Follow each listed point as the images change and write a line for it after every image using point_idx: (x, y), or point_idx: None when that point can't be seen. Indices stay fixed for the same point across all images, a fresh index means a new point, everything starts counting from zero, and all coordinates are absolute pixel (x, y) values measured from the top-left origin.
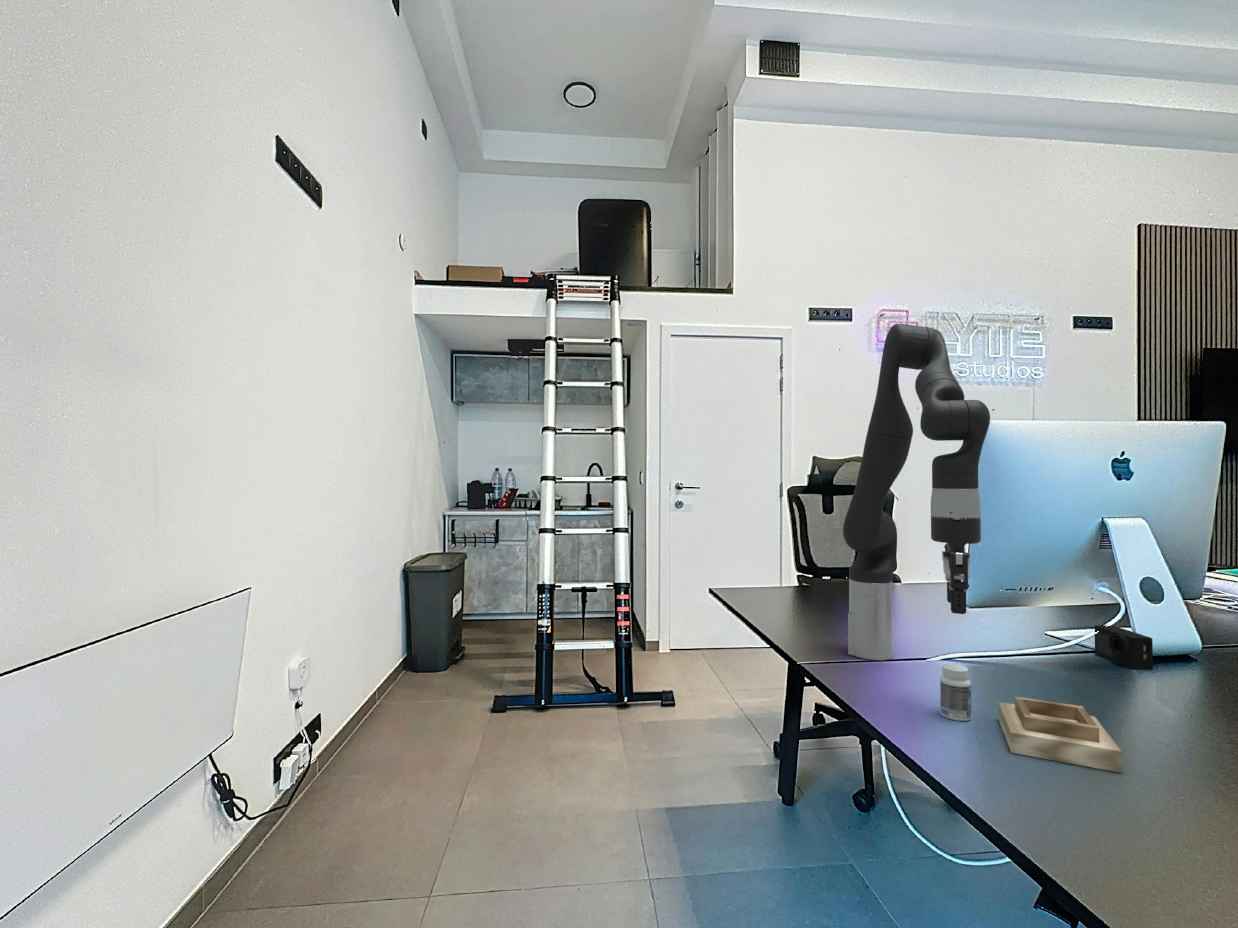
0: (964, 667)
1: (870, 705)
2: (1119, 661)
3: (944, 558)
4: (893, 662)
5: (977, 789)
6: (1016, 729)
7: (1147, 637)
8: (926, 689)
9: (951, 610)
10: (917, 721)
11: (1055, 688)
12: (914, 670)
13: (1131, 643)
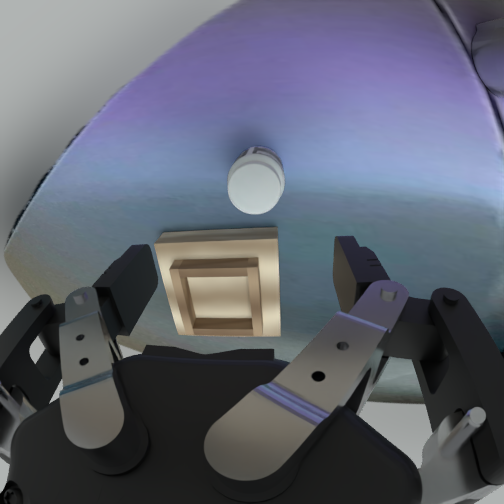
0: (262, 207)
1: (230, 42)
2: (502, 355)
3: (60, 400)
4: (479, 93)
5: (61, 199)
6: (169, 250)
7: None
8: (370, 128)
9: (132, 246)
10: (199, 116)
11: None
12: (457, 121)
13: None
